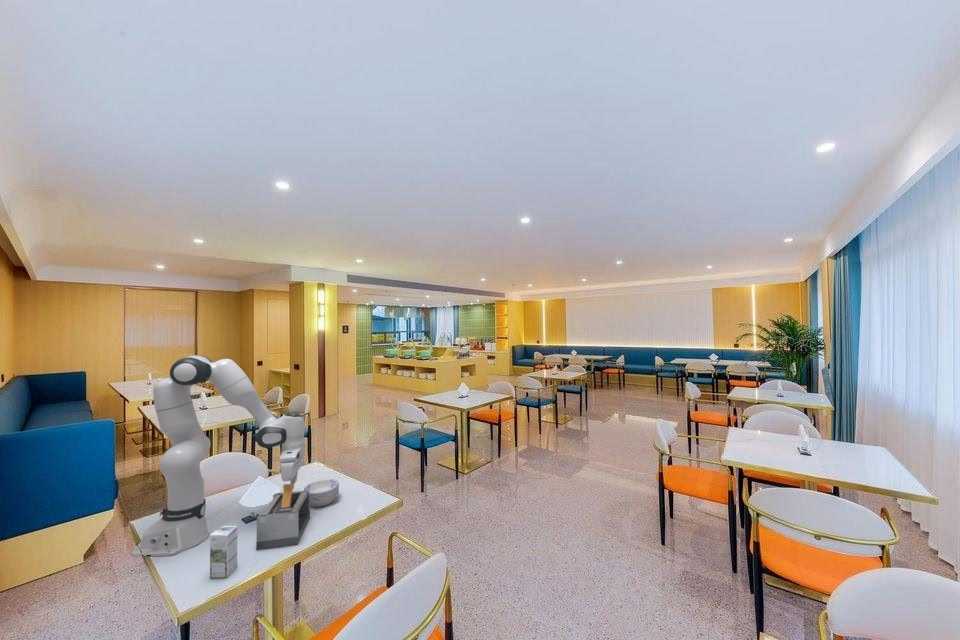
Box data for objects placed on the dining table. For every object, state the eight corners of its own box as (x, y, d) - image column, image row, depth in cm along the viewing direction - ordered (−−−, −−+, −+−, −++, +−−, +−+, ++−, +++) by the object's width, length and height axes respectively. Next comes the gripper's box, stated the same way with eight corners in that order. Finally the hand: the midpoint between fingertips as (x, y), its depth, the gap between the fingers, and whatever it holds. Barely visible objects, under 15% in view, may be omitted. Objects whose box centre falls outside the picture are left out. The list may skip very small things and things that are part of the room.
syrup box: (238, 566, 124) (238, 524, 124) (226, 578, 118) (227, 534, 118) (221, 567, 124) (221, 524, 124) (208, 579, 118) (209, 534, 118)
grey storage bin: (297, 545, 136) (297, 513, 136) (256, 550, 133) (256, 517, 133) (309, 517, 156) (310, 490, 156) (274, 521, 152) (274, 493, 153)
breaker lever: (290, 511, 143) (294, 483, 149) (278, 513, 142) (282, 484, 148) (291, 512, 145) (295, 484, 151) (279, 513, 144) (283, 485, 150)
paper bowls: (299, 501, 170) (299, 484, 170) (332, 491, 180) (332, 475, 180) (309, 514, 159) (309, 496, 159) (343, 502, 169) (343, 485, 169)
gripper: (292, 443, 165) (292, 473, 165) (277, 459, 145) (278, 494, 145) (307, 442, 166) (307, 472, 166) (294, 458, 146) (295, 492, 146)
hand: (293, 482), depth 155 cm, fingers closed
